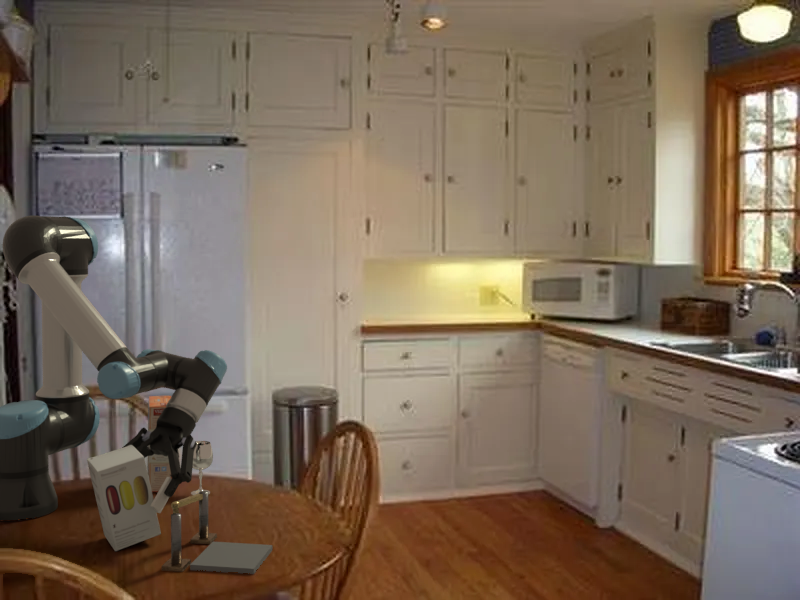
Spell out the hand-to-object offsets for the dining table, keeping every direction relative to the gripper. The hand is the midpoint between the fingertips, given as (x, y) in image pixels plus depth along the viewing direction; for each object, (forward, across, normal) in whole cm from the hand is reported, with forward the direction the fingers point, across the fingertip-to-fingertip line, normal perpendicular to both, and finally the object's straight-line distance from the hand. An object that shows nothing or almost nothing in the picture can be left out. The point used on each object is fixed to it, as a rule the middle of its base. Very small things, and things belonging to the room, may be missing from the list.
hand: (128, 504), depth 167 cm
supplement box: (+4, 0, -6) cm, 7 cm away
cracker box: (-18, +22, -29) cm, 41 cm away
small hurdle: (+4, -14, -7) cm, 16 cm away
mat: (+3, -23, -8) cm, 25 cm away
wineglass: (-18, +10, -29) cm, 35 cm away
